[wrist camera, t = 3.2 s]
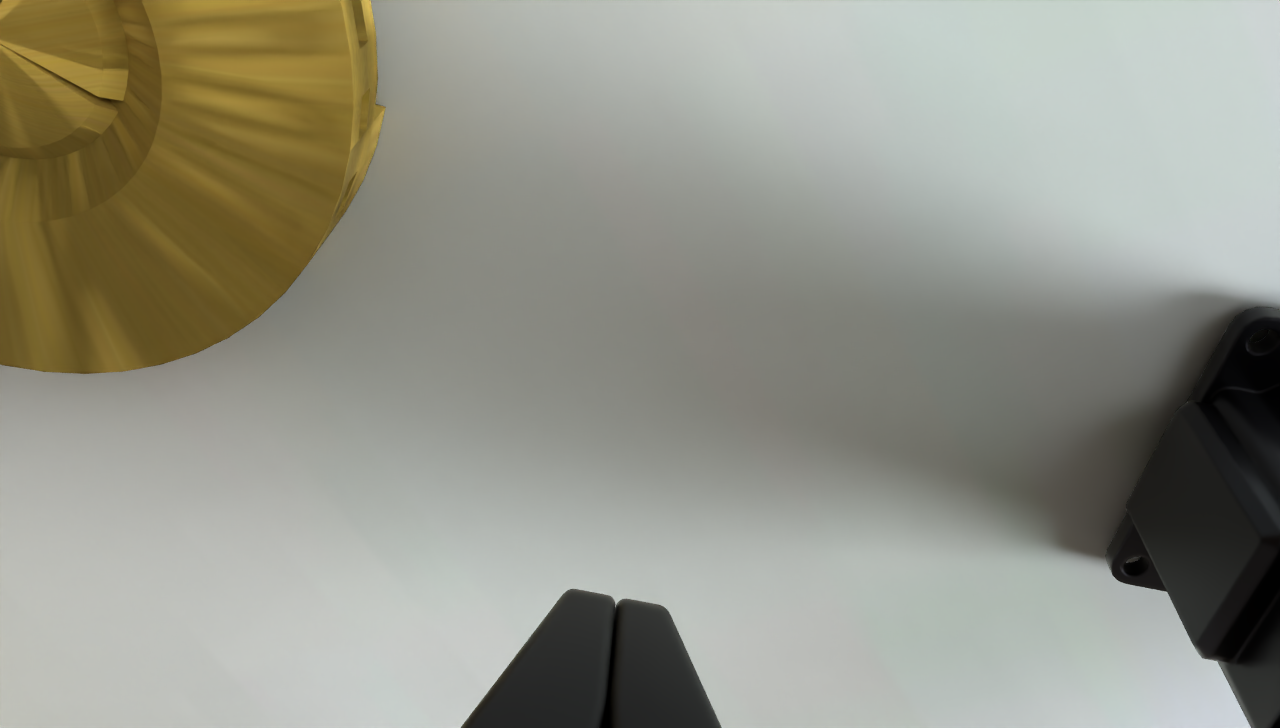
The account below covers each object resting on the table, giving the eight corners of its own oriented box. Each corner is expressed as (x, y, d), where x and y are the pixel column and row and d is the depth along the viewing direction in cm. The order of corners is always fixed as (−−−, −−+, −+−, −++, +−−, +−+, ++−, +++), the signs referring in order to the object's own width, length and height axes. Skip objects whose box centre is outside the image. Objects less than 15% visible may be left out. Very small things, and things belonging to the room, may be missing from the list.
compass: (464, 277, 21) (439, 334, 19) (-96, 347, 23) (-167, 406, 21) (248, -503, 15) (181, -530, 13) (-490, -329, 17) (-640, -331, 15)
